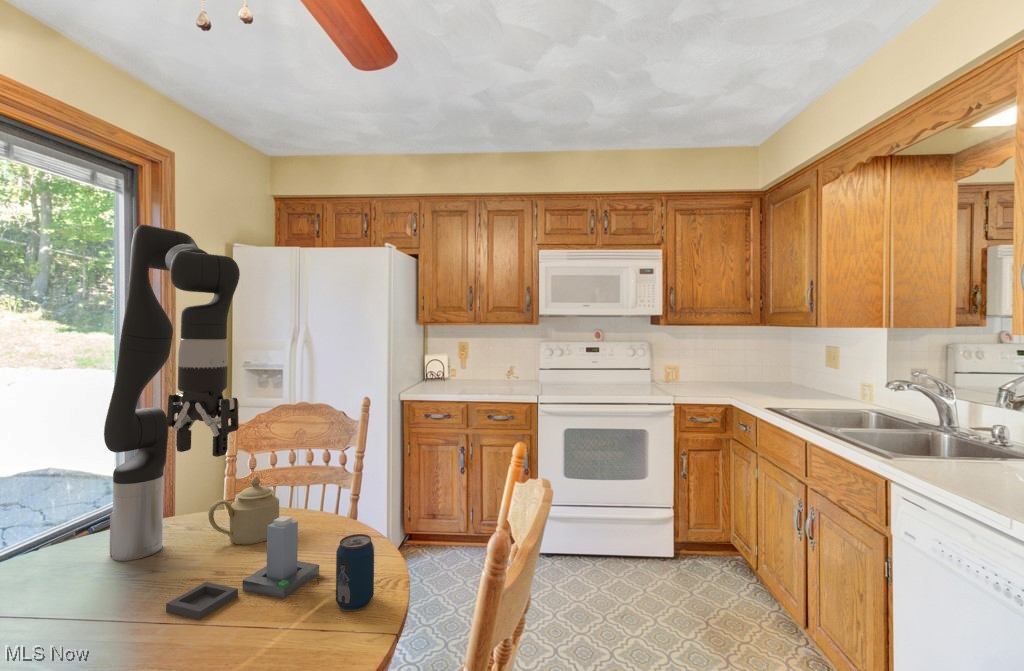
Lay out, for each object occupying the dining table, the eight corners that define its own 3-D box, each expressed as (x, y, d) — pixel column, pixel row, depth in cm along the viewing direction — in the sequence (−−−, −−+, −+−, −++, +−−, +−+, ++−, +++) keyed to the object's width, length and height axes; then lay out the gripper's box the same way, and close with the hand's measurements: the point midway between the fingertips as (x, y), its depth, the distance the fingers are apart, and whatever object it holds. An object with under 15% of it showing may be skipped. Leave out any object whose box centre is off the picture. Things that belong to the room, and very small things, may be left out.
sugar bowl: (243, 554, 110) (244, 490, 110) (204, 548, 112) (205, 485, 112) (288, 529, 124) (289, 472, 124) (253, 524, 127) (254, 468, 127)
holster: (165, 614, 86) (166, 603, 86) (205, 591, 94) (206, 581, 94) (199, 622, 84) (199, 611, 84) (237, 599, 91) (237, 588, 91)
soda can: (374, 591, 95) (375, 531, 95) (372, 611, 88) (373, 546, 88) (338, 594, 94) (339, 534, 94) (332, 615, 87) (333, 549, 87)
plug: (266, 585, 96) (267, 520, 96) (281, 575, 99) (282, 513, 99) (282, 588, 94) (283, 523, 94) (297, 579, 98) (298, 516, 98)
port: (242, 592, 94) (242, 577, 94) (280, 569, 103) (280, 554, 103) (283, 601, 91) (283, 585, 91) (319, 576, 100) (319, 561, 100)
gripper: (251, 364, 87) (249, 452, 87) (193, 361, 92) (191, 444, 92) (215, 367, 80) (212, 463, 80) (153, 363, 84) (151, 454, 85)
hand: (201, 453), depth 86 cm, fingers open, 8 cm apart
